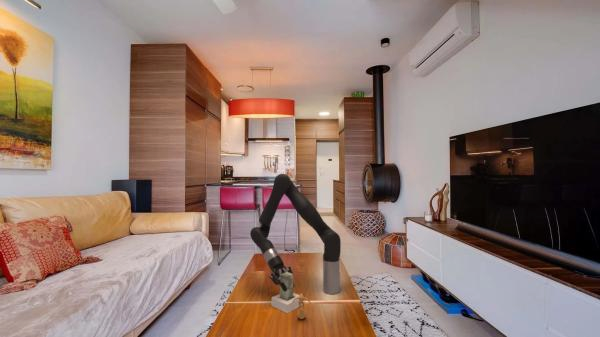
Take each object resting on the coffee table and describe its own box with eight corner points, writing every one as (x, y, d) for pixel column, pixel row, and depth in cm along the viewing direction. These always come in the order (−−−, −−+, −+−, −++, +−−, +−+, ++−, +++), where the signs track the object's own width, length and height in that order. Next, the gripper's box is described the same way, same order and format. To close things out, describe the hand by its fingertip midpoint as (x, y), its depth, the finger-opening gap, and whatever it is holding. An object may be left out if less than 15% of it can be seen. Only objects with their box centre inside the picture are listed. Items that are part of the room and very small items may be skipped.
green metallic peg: (286, 295, 131) (286, 271, 132) (293, 298, 128) (293, 274, 129) (280, 298, 128) (280, 274, 128) (286, 301, 125) (286, 276, 125)
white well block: (287, 298, 136) (287, 290, 136) (302, 304, 128) (302, 296, 128) (271, 305, 127) (271, 297, 128) (287, 313, 120) (287, 304, 120)
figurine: (310, 316, 118) (310, 289, 118) (310, 323, 112) (310, 295, 112) (292, 315, 118) (292, 289, 118) (291, 323, 112) (291, 295, 112)
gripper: (266, 258, 128) (283, 290, 120) (286, 252, 139) (303, 280, 130) (259, 266, 132) (275, 298, 123) (279, 259, 142) (295, 288, 134)
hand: (289, 289), depth 127 cm, fingers closed on green metallic peg, 4 cm apart
